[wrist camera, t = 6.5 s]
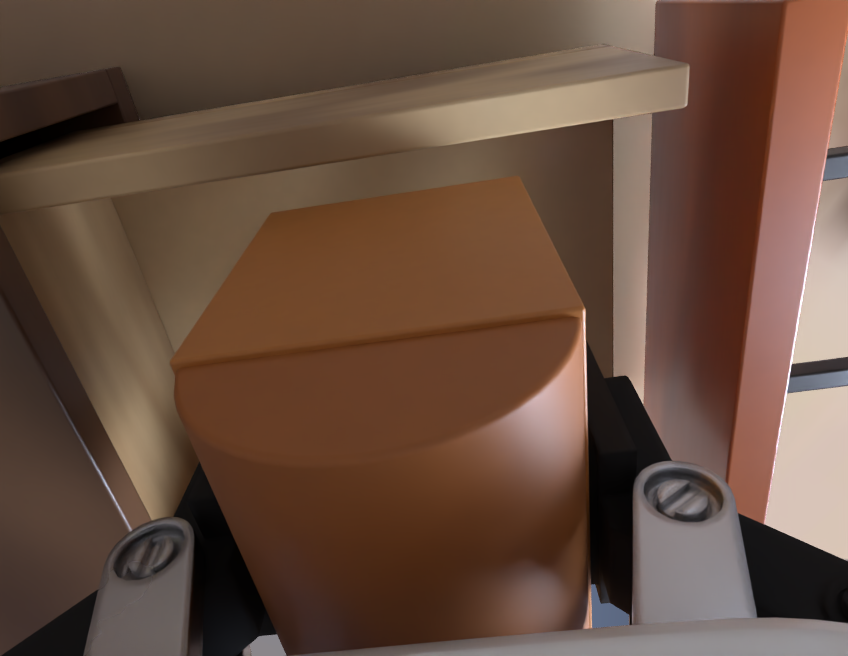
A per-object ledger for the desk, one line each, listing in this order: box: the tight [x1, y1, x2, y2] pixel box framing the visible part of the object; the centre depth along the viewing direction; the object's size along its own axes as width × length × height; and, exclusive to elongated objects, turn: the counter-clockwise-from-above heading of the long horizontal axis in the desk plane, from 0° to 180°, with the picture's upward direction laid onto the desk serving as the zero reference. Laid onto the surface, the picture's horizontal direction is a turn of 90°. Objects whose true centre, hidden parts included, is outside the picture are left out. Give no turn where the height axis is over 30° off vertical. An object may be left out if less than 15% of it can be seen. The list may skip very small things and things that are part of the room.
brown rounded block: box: [170, 176, 592, 656], centre depth 10 cm, size 5×8×8 cm, turn 9°
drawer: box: [0, 0, 848, 525], centre depth 17 cm, size 22×14×6 cm, turn 99°
